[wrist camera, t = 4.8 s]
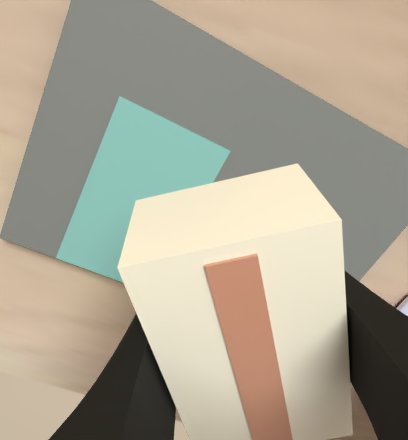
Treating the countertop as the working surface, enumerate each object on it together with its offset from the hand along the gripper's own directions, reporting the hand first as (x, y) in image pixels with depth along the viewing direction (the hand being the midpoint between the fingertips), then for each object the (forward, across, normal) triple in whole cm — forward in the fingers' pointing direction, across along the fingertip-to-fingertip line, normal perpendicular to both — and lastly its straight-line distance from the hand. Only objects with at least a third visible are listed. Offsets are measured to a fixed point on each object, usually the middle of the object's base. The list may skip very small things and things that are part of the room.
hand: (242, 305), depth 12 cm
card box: (+1, 0, 0) cm, 1 cm away
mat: (+9, 0, +1) cm, 9 cm away
